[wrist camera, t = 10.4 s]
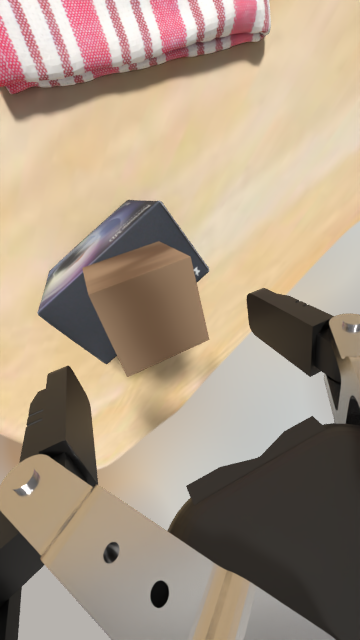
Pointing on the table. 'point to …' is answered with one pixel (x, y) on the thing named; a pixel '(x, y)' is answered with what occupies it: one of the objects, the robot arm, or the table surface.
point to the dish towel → (116, 36)
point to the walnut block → (147, 304)
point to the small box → (103, 243)
